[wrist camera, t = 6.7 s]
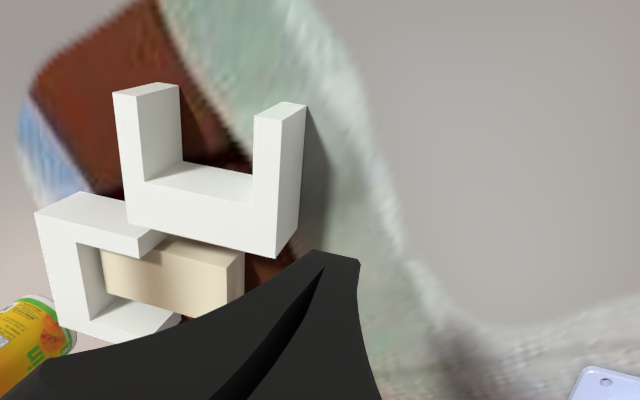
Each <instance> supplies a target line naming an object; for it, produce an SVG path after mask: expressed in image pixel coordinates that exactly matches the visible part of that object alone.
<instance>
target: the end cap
mask: <svg viewBox="0 0 640 400" xmlns="http://www.w3.org/2000/svg"><path fill="white" fill-rule="evenodd" d="M34 216H35V221H36V225H37V229H38V234H39V238H40V243H41V247H42V251H43V256H44V260H45V265H46V269H47V274H48V278H49V283H50V287H51V291H52V295H53V300H54V305H55V309H56V314H57V318H58V322H59V326H61V327H64V328H68V329H71V330H74V331H77V332H80V333H83V334H87V335H90V336H93V337H96V338H99V339H102V340H106V341H109V342H112V343H115V344H118V343H122V342H125V341H129V340H133V339H136V338H140V337H143V336H146V335H150V334H153V333H156V332H159V331H162V330H165V329H167V328H170V327H173V326H175V325H177V324H178V323H179V322H180V321H181V314H179V313H176V312H172V311H169V310H165V309H162V308H158V307H155V306H151V305H148V304H145V303H141V302H138V301H134V300H131V299H127V298H124V297H120V296H117V295H113V294H110V293H107V291H106V285H105V279H104V273H103V267H102V261H101V255H100V249H104V250H108V251H112V252H115V253H119V254H123V255H127V256H131V257H134V258H138V259H140V258H141V257H143V256H144V255H145V254H146V253H148V252H149V251H150V250H152V249H153V248H154V247H155V246H157V245H158V244H159V243H161V242H162V241H163V240H164V239H166V238H167V237H168V236H169V235H171V234H170V233H166V232H162V231H158V230H154V229H150V228H145V227H141V226H137V225H133V224H129V223H128V219H127V210H126V202H125V201H121V200H116V199H112V198H108V197H103V196H99V195H95V194H90V193H86V192H82V191H79V192H77V193H75V194H73V195H71V196H68V197H66V198H64V199H62V200H60V201H58V202H56V203H54V204H52V205H49V206H47V207H45V208H43V209H41V210H39V211H37V212H35V213H34ZM99 248H100V249H99Z"/></svg>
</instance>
